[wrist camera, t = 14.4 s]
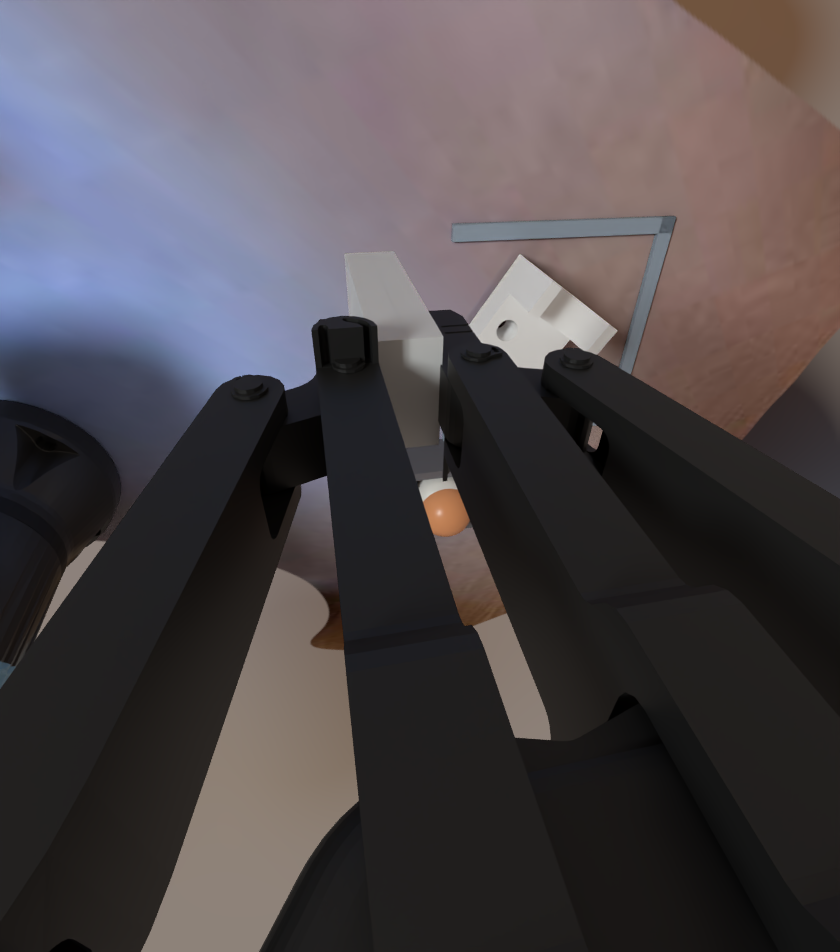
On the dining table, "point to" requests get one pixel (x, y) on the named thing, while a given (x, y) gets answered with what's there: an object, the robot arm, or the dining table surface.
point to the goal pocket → (586, 228)
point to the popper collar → (428, 462)
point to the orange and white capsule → (443, 506)
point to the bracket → (537, 317)
